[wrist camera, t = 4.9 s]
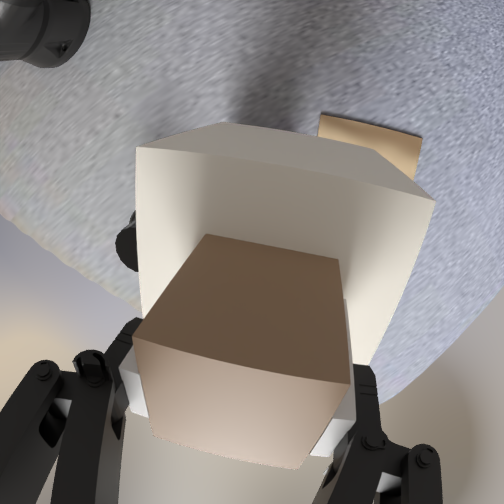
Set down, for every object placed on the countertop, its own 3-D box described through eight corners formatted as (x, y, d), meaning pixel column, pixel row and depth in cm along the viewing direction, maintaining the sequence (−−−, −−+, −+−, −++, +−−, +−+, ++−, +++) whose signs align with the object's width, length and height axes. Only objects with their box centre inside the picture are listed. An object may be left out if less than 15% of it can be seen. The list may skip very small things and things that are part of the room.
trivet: (320, 114, 39) (320, 114, 39) (421, 138, 38) (422, 138, 37) (304, 214, 46) (304, 215, 46) (398, 232, 45) (398, 233, 44)
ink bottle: (147, 184, 48) (107, 211, 38) (198, 194, 48) (167, 223, 37) (146, 238, 53) (111, 273, 42) (193, 249, 52) (165, 288, 42)
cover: (222, 121, 26) (17, 195, 7) (373, 149, 24) (522, 293, 5) (210, 254, 32) (100, 441, 13) (339, 279, 31) (348, 498, 12)
